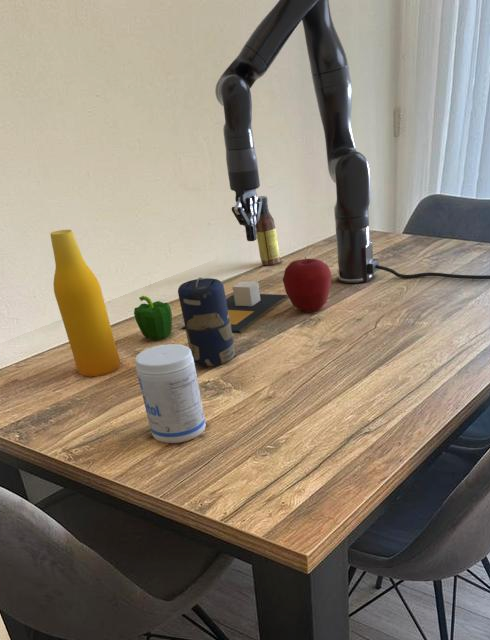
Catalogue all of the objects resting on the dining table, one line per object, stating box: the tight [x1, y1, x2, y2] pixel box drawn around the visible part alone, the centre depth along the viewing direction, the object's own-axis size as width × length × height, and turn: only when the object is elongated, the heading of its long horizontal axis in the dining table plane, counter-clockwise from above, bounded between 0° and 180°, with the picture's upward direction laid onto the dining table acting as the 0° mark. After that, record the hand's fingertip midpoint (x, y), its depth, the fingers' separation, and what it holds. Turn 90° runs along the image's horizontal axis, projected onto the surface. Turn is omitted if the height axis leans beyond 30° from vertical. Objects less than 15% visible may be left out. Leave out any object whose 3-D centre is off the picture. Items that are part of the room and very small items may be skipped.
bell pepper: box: [133, 295, 173, 341], centre depth 160 cm, size 8×8×10 cm
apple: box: [282, 256, 332, 313], centre depth 167 cm, size 12×12×13 cm
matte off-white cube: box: [232, 280, 261, 306], centre depth 177 cm, size 5×5×5 cm
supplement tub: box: [134, 343, 207, 444], centre depth 115 cm, size 10×10×15 cm
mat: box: [182, 293, 288, 334], centre depth 174 cm, size 16×28×1 cm, turn 158°
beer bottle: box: [49, 229, 121, 377], centre depth 140 cm, size 9×9×29 cm
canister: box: [177, 277, 236, 367], centre depth 141 cm, size 10×10×18 cm
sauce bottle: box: [255, 195, 281, 266], centre depth 208 cm, size 7×6×20 cm
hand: (252, 240), depth 176 cm, fingers closed
